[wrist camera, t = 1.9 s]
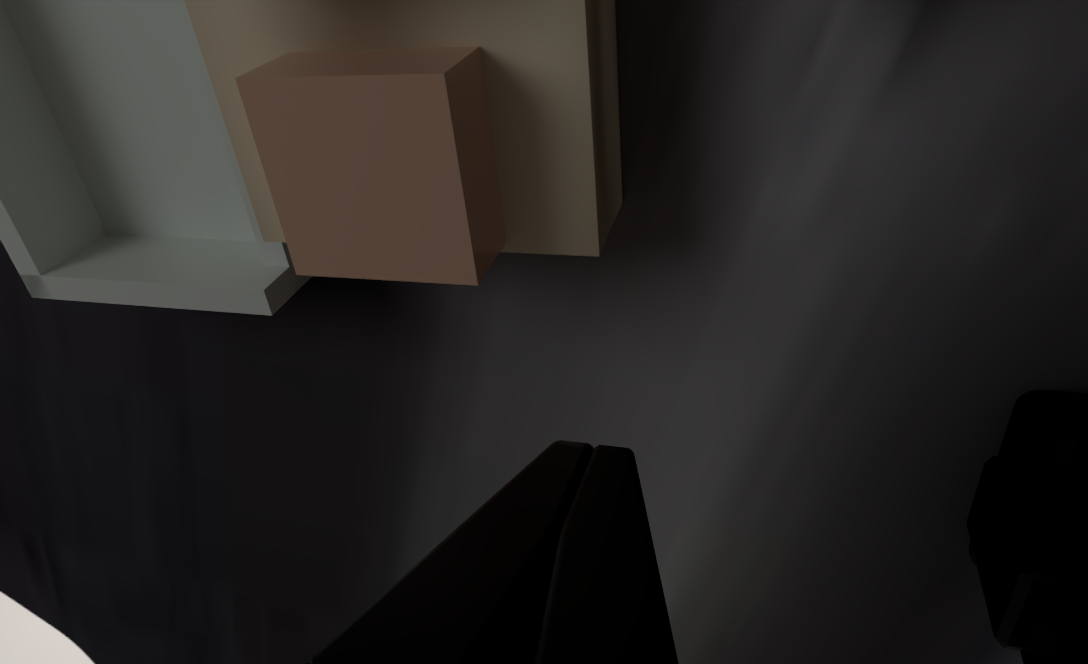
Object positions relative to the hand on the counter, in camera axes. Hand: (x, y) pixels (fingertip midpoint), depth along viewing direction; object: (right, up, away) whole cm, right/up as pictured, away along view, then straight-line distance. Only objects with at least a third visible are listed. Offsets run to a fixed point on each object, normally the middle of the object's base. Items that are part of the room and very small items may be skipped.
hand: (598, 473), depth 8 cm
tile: (-4, +6, +9) cm, 11 cm away
